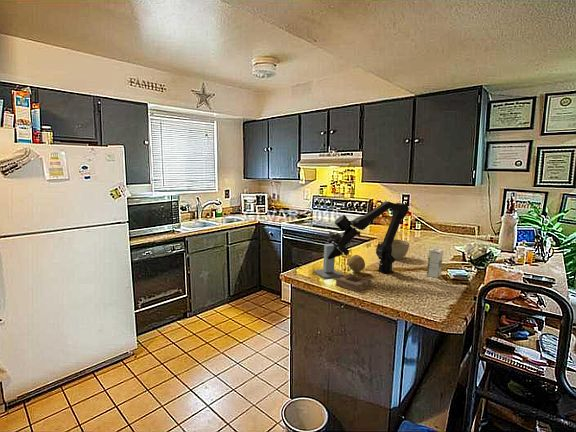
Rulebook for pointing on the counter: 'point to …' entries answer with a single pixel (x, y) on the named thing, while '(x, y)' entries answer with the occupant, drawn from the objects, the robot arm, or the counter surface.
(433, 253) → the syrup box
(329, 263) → the slate peg
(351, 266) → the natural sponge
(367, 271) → the counter surface
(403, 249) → the planter bowl
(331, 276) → the charcoal mat
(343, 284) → the walnut pocket block
